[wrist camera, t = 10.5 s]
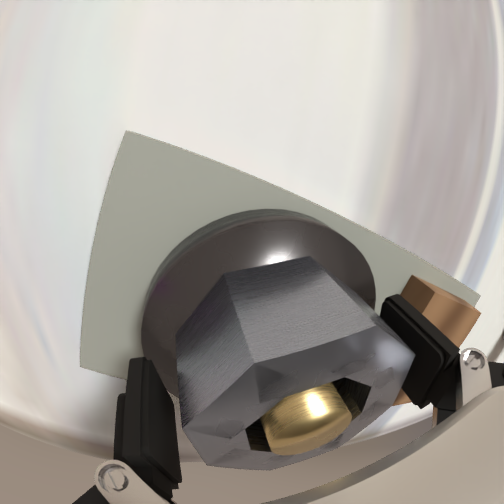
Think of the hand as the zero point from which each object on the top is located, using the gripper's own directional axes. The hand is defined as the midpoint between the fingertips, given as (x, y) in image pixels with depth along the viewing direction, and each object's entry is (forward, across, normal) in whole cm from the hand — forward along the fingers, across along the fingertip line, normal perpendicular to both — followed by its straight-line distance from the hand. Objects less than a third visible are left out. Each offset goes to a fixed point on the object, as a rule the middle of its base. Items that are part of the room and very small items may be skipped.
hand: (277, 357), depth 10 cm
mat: (+3, -5, +3) cm, 7 cm away
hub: (+2, 0, 0) cm, 2 cm away
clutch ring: (+1, 0, 0) cm, 1 cm away
